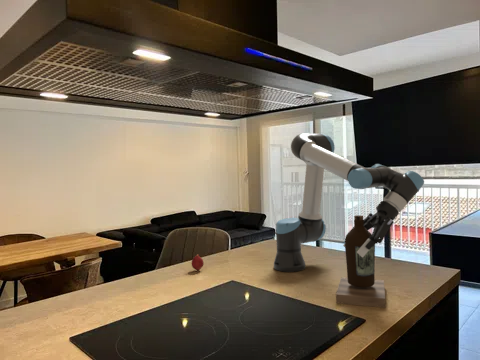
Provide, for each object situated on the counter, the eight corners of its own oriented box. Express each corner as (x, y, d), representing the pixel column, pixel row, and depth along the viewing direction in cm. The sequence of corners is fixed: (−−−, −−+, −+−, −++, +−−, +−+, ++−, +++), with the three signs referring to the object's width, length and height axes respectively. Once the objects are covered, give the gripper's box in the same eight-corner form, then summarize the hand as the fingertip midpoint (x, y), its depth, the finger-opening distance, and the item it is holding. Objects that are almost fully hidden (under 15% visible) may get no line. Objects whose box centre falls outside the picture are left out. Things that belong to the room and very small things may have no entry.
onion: (192, 272, 167) (191, 256, 166) (191, 269, 172) (190, 253, 172) (204, 271, 168) (203, 255, 167) (203, 268, 173) (202, 252, 173)
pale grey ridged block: (341, 284, 141) (341, 277, 141) (384, 287, 135) (383, 280, 135) (336, 302, 123) (335, 294, 123) (385, 307, 117) (385, 298, 117)
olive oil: (341, 279, 134) (339, 215, 133) (367, 277, 135) (365, 213, 134) (354, 289, 123) (351, 218, 122) (382, 286, 124) (379, 217, 124)
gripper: (417, 217, 119) (375, 266, 117) (381, 209, 142) (345, 250, 140) (402, 202, 118) (360, 251, 116) (368, 197, 141) (332, 238, 139)
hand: (352, 251), depth 128 cm, fingers closed on olive oil, 10 cm apart
